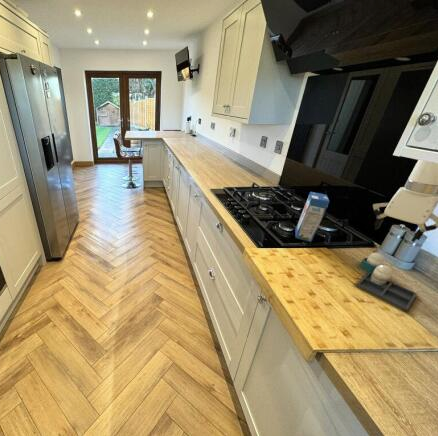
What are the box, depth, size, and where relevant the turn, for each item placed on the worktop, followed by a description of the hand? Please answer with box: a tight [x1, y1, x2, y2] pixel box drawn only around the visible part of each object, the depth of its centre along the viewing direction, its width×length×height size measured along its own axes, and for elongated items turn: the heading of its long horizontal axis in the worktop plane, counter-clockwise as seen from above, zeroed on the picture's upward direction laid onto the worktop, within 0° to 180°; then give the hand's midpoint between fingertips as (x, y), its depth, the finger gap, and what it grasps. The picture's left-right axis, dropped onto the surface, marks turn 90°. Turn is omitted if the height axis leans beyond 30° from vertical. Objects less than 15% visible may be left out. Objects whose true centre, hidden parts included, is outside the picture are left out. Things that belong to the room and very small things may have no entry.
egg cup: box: [359, 257, 384, 273], centre depth 88 cm, size 6×6×4 cm
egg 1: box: [366, 252, 385, 267], centre depth 87 cm, size 4×4×7 cm
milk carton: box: [294, 191, 330, 243], centre depth 106 cm, size 10×6×20 cm, turn 151°
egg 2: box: [371, 264, 393, 285], centre depth 80 cm, size 4×4×7 cm
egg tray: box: [355, 272, 418, 313], centre depth 78 cm, size 13×13×2 cm
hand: (394, 234), depth 82 cm, fingers open, 9 cm apart
